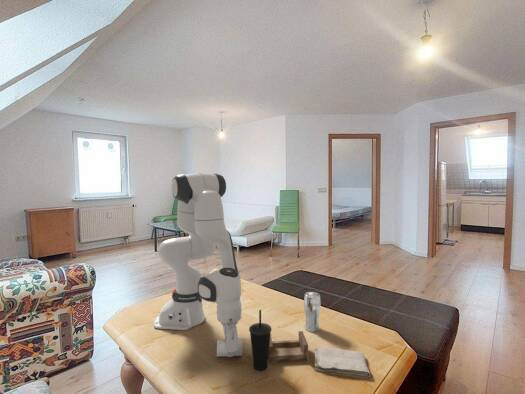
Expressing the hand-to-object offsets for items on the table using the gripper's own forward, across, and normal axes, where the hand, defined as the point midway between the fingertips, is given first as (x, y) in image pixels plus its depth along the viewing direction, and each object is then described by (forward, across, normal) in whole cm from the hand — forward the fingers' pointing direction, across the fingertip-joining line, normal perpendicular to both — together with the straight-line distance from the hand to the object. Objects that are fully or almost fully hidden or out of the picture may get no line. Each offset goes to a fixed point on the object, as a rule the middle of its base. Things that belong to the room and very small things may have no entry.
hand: (229, 349), depth 102 cm
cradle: (+2, -4, -21) cm, 21 cm away
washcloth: (+3, -14, -37) cm, 40 cm away
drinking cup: (+2, -9, -10) cm, 13 cm away
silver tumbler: (+2, +10, -37) cm, 39 cm away
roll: (-1, 0, 0) cm, 1 cm away
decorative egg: (+2, +57, +1) cm, 57 cm away
